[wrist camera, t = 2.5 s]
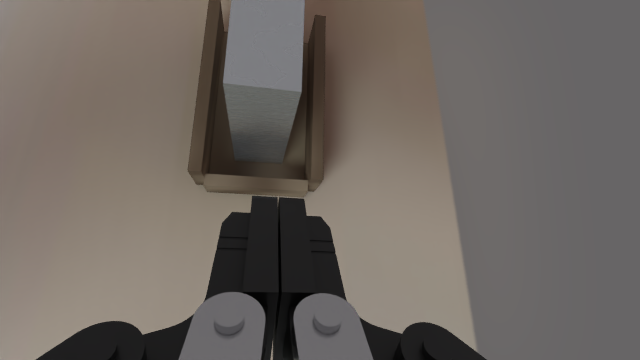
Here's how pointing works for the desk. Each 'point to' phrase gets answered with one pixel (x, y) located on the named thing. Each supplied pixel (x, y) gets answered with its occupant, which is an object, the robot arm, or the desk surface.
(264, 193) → the walnut box
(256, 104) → the grey rectangular block
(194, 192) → the desk surface
